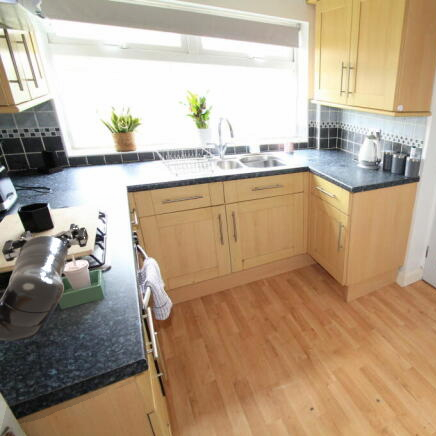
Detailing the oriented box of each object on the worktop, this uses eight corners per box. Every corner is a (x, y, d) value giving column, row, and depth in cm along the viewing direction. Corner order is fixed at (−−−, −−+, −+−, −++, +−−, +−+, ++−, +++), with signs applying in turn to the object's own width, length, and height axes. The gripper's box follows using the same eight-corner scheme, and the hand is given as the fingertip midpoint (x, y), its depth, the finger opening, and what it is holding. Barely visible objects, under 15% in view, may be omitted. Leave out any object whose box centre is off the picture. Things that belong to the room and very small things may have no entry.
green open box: (61, 309, 89) (56, 296, 88) (64, 290, 97) (59, 278, 95) (104, 297, 95) (100, 285, 93) (104, 280, 102) (100, 268, 100)
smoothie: (77, 302, 92) (62, 260, 86) (66, 294, 94) (51, 253, 89) (101, 290, 97) (88, 250, 91) (90, 284, 100) (77, 244, 94)
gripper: (80, 236, 67) (83, 211, 79) (-14, 254, 59) (6, 222, 72) (89, 267, 70) (91, 237, 82) (1, 287, 62) (18, 251, 75)
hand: (51, 230), depth 77 cm, fingers open, 8 cm apart
